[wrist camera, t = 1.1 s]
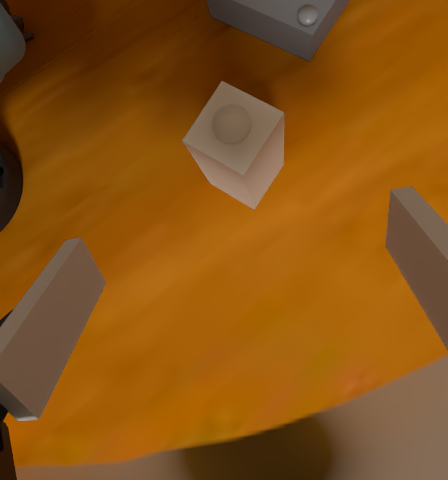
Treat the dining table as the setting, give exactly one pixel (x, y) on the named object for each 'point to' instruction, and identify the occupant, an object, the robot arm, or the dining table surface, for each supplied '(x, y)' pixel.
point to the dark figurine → (17, 21)
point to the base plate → (282, 21)
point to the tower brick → (238, 143)
